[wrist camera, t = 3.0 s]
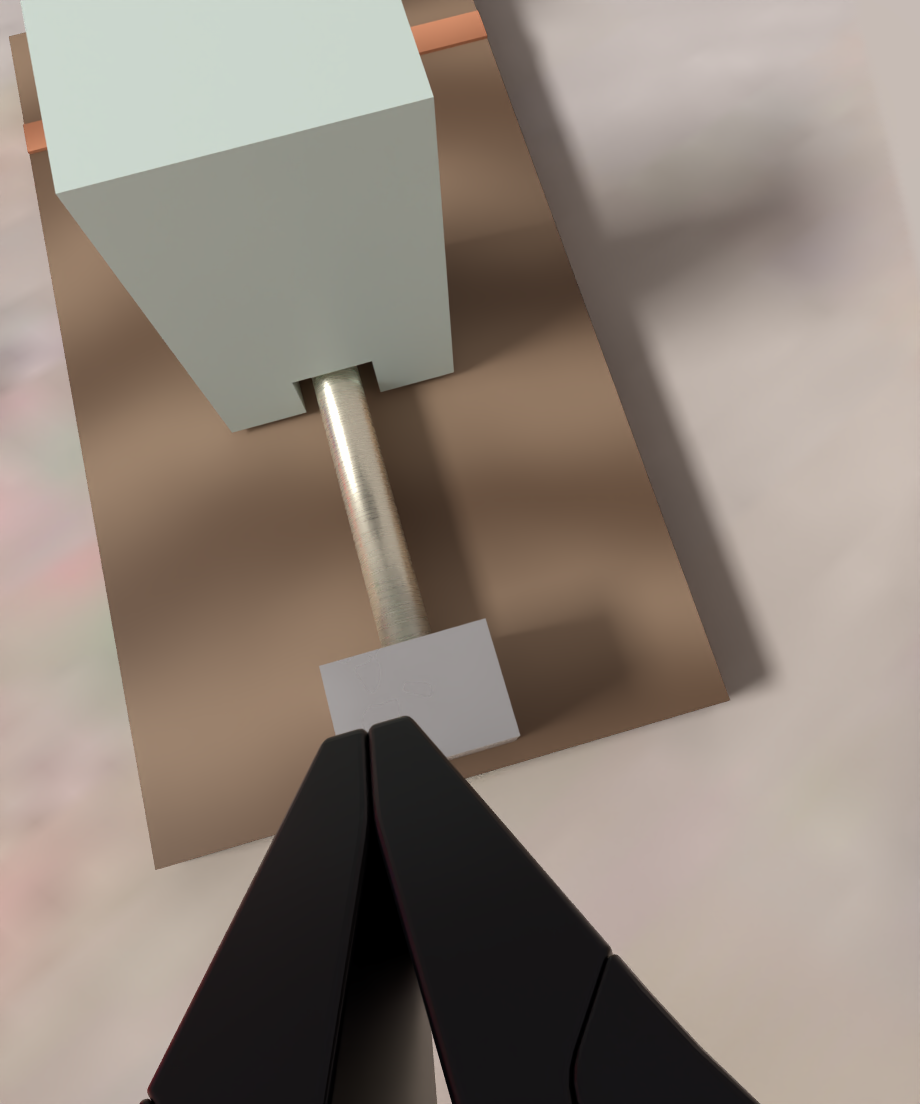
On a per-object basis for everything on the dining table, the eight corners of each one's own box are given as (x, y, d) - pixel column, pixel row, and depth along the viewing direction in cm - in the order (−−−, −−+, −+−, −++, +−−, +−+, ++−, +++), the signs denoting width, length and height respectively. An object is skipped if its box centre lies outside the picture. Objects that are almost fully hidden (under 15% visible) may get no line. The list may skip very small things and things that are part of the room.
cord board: (713, 705, 21) (731, 699, 20) (178, 863, 21) (153, 870, 19) (448, -28, 28) (446, -75, 26) (34, 76, 27) (7, 33, 25)
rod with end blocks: (541, 734, 20) (562, 719, 15) (344, 791, 20) (291, 799, 15) (313, -14, 27) (268, -223, 21) (161, 23, 26) (75, -178, 21)
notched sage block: (453, 372, 22) (433, 97, 13) (231, 432, 22) (55, 193, 13) (414, 245, 23) (370, -91, 14) (201, 301, 23) (19, -5, 14)
